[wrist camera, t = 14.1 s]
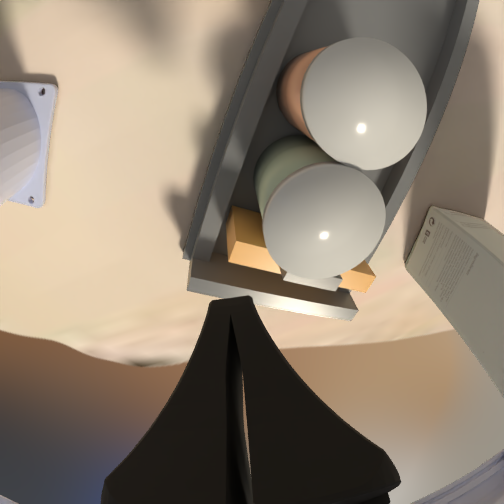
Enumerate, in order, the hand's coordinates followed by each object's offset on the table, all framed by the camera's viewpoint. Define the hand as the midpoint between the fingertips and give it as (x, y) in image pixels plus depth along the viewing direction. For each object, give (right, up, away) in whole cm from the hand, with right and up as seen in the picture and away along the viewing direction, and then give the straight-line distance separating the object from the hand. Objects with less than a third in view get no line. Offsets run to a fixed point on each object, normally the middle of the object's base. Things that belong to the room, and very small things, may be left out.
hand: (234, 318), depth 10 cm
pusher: (+3, +4, +9) cm, 10 cm away
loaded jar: (+3, +7, +6) cm, 10 cm away
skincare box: (+17, +3, +11) cm, 21 cm away
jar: (+4, +11, +4) cm, 12 cm away
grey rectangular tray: (+6, +11, +4) cm, 14 cm away
